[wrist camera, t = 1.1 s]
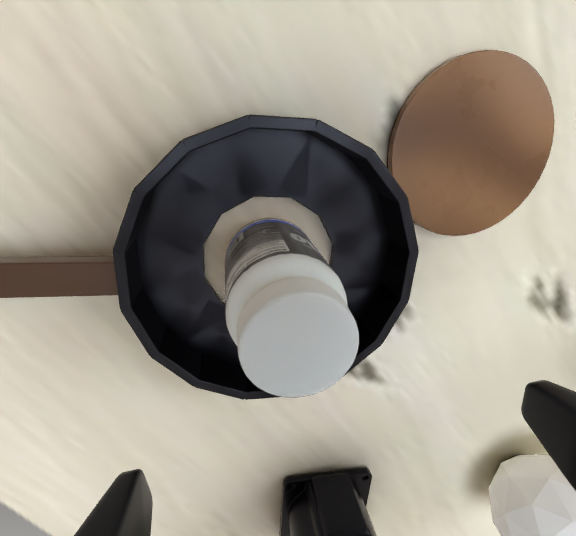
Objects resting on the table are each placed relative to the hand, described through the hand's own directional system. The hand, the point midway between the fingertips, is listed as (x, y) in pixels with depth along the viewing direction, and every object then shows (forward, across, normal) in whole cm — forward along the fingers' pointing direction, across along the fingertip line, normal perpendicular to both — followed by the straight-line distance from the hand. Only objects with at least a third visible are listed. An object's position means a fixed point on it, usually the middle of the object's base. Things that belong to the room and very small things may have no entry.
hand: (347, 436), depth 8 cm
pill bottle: (+12, 0, 0) cm, 12 cm away
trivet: (+12, -11, -4) cm, 17 cm away
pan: (+12, +4, 0) cm, 13 cm away
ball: (+12, -17, +22) cm, 30 cm away
